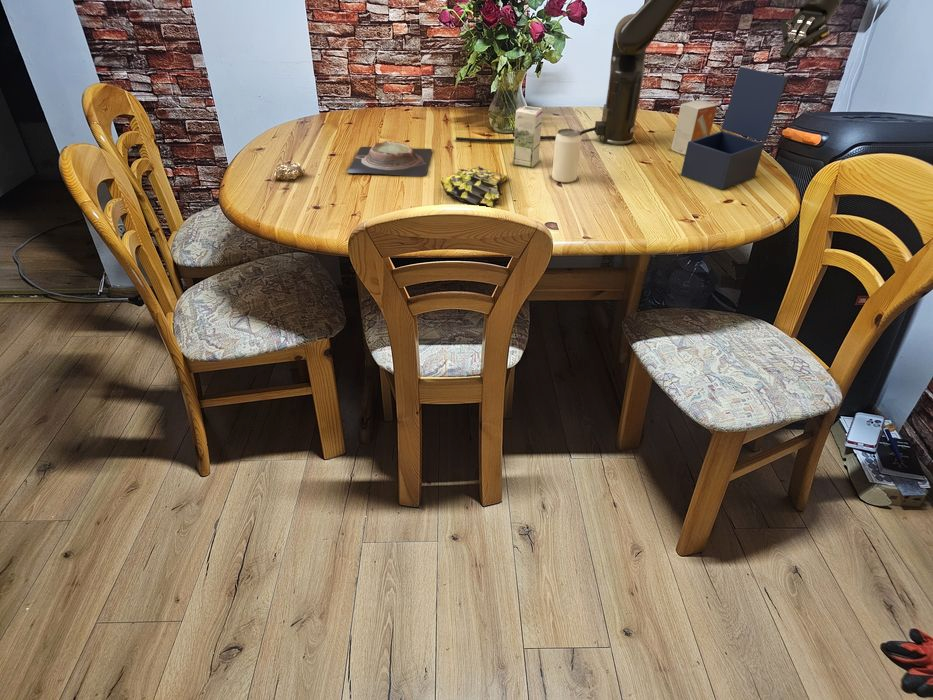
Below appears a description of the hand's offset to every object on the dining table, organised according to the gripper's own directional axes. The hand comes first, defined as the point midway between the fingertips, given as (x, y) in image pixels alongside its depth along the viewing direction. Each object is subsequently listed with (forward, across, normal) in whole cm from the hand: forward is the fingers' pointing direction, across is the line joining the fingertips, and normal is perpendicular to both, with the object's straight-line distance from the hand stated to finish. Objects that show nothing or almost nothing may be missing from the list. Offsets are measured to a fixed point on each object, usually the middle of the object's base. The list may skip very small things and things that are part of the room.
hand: (783, 58), depth 156 cm
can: (+55, -23, -17) cm, 62 cm away
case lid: (+13, 0, 0) cm, 13 cm away
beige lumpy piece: (+95, -66, -56) cm, 129 cm away
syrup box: (+55, -37, -17) cm, 69 cm away
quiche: (+76, -60, -37) cm, 104 cm away
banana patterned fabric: (+70, -31, -32) cm, 83 cm away
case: (+31, 0, +7) cm, 32 cm away
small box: (+24, -16, +14) cm, 32 cm away
